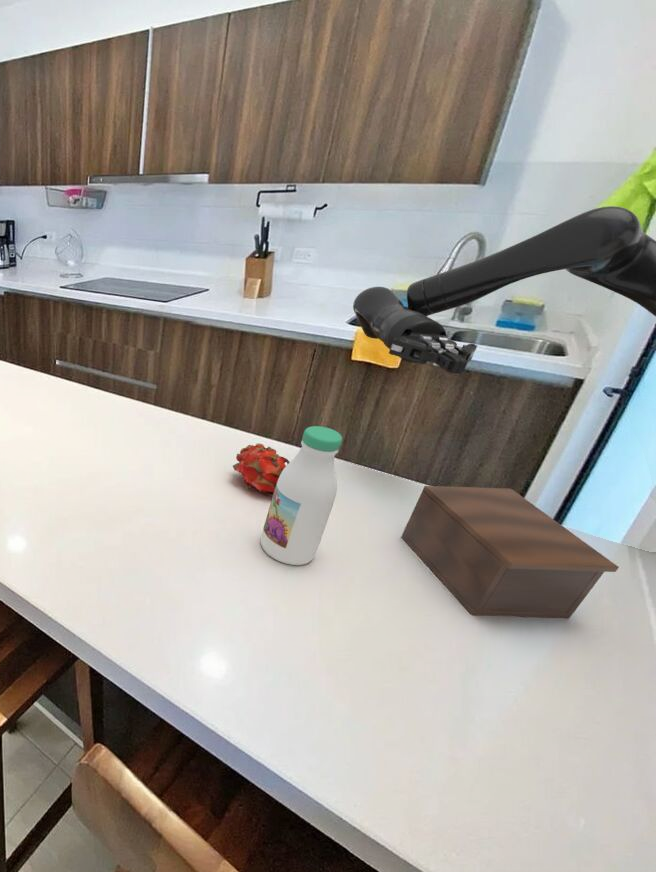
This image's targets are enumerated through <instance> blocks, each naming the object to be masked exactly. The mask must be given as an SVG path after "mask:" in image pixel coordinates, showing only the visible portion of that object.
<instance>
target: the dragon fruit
mask: <svg viewBox="0 0 656 872" xmlns="http://www.w3.org/2000/svg"><path fill="white" fill-rule="evenodd" d="M240 449H241V450H240V451H239V453H237V454H236V457H235V459H236V461H237V462H236V463H234V464H233V465H232V468H233V470H234V471H236V472H238V473H239V474H241V476H242V478H243V483H244V487H245V488H246V489H249V488H251V487H252V486H253V487H254V488H255V489H256V490H258V491H259V492H260V493H262V494H263V495H265V496H269V497H273V494H274V490H275V487H276V484H277V482H278V479H279V477H280V474H281V473H282V471H283V469H284V468H285V467H286V466H287V465H288V464H289V463H290V462H291V461H290V460H289V459H288V458H287V457H284V456H280V455H279V454H278V453H277V450H276V449H275V448H272V447H271V446H267V447H265V445H264V444H262V443H256V444H255V445H252V444H248V445H247V446H246V447H243V448H240Z"/></svg>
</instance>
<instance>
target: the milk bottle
mask: <svg viewBox="0 0 656 872" xmlns="http://www.w3.org/2000/svg"><path fill="white" fill-rule="evenodd" d="M301 439H302V440H301V442H300V445H301V448H300V450H299V451H298V452H297V454H296V455H295V456H294V458H293V459H291V460H290V461H289V462H290V463H289V464H288V465H287V464H286V467H285V468H284V469H283V471H282V473H281V474H280V477H279V479H278V482H277V484H276V487H275V490H274V491H273V493H274V494H273V496H271V501H270V503H269V507H268V511H267V514H266V518H265V521H264V525H263V528H262V532H261V534H260V535H261V536H260V544H261V545H260V546H261V547H262V549H263V551H264V552H265V553H266V554H267V555H268V556H269V557H271V558H273V559H274V560H276V561H278V562H280V563H282V564H287V565H292V566H303V565H306V564H308V563H310V562H312V561H313V560H314V559H315V556H316V554H317V551H318V548H319V546H320V543H321V540H322V537H323V534H324V532H325V529H326V527H327V524H328V520H329V518H330V515H331V512H332V509H333V506H334V503H335V500H336V496H337V492H338V491H337V490H338V479H337V473H336V468H335V457H336V455H337V454H338V453H339V452H340V451H339V449H340V448H341V445H342V442H343V435H341V434H340V433H339V432H338V431H336V430H335V429H332V428H329V427H326V426H321V425H320V426H319V425H318V426H317V425H312V426H308V427H306V428H305V429H304V431H303V435H302V437H301Z"/></svg>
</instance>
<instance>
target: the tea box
mask: <svg viewBox="0 0 656 872" xmlns="http://www.w3.org/2000/svg"><path fill="white" fill-rule="evenodd" d="M418 497H419V498H418V500H417V501H416V504H415V506H414V508H413V510H412V513H411V515H410V517H409V519H408V521H407V523H406V525H405V527H404V530H403V532H402V534H401V537H400V538H402V539H403V541H404V542H405V543H406V544H407V545H408V547H410V549H411V550H412V551H414V553H415V554H416V555H417V556H418V557H419V558H420V560H421V561H422V562H423V563H424V564H425V565H426V566H427V567H428V569H430V571H431V572H432V573H433V574H434V575H435V576H436V577H437V578H438V579H439V581H440V582H441V583H442V584H443V585H444V586H445V587H446V588H447V590H449V592H450V593H451V594H452V595H453V596H454V597H455V598H456V600H458V601H459V603H460V604H461V605H462V606H463V607H464V608H465V610H467V612H468V613H469V614H470V615H472V616H496V617H497V616H499V617H523V618H524V617H525V618H526V617H528V618H529V617H530V618H555V619H556V618H558V619H570V618H571V617H572V615H573V614H574V613H575V612H576V610H578V608H579V607H580V605H581V604H582V603H583V601H584V600H585V598H586V597H587V596H588V594H589V593H590V592H591V590H592V589H593V588H594V586H595V585H596V584H597V583H598V581H599V580H600V579H601V577H602V576H603V575H604V573H605V572H600V571H570V570H540V569H510V568H508V567H507V566H505V565H504V564H503V563H502V562H501V561H500V560H499V559H498V558H497V557H496V556H495V555H493V554H492V553H491V552H490V551H489V550H488V549H487V548H486V547H485V546H484V545H482V544H481V543H480V542H479V541H478V540H477V539H476V538H475V537H474V536H473V535H472V534H470V533H469V532H468V531H467V530H466V529H465V528H464V527H463V526H462V525H461V524H459V523H458V522H457V521H456V520H455V519H454V518H453V517H452V516H451V515H450V514H449V513H447V512H446V511H445V510H444V509H443V508H442V507H441V506H440V505H439V504H438V503H436V502H435V501H434V500H433V499H432V498H431V497H430V496H429V495H428V494H427V493H425V492H424V491H423V490H422V491H421V493H420V495H419V496H418Z"/></svg>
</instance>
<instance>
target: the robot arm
mask: <svg viewBox="0 0 656 872" xmlns="http://www.w3.org/2000/svg"><path fill="white" fill-rule="evenodd" d="M562 270H565V271H566V272H568V273H569V274H570V275H573V276H575V277H578V278H579V279H582V280H585V281H587V282H589V283H590V282H591V283H592V284H595V285H598V286H599V287H603V288H604V289H607V290H610V291H612V292H614V293H616V294H618V295H620V296H622V297H625V298H627V299H629V300H631V301H632V302H634V303H636V304H637V305H638V306H640V307H642V308H643V309H645V310H646V311H648V312H649V313H650V314H651V315H652V316H654V317H656V240H655V239H654V238H653V237H651V236H649V235H648V234H647V233H646V232H644V231H643V228H642V224H641V222H640V219H639V218H638V216H637V215H636V214H635V212H633V211H631V210H630V209H628V208H625V207H621V206H613V205H610V206H609V205H608V206H601V207H597V208H593V209H589V210H587V211H584V212H581V213H580V214H577V215H576V216H573V217H571V218H569V219H567V220H564V221H563V222H560V223H558V224H556V225H554V226H552V227H550V228H548V229H546V230H543V231H541V232H540V233H537V234H536V235H534V236H532V237H529V238H526V239H525V240H523V241H521V242H518V243H516V244H514V245H511V246H508V247H506V248H504V249H502V250H500V251H497V252H495V253H492V254H490V255H488V256H485V257H483V258H480V259H478V260H475V261H472V262H469V263H467V264H463V265H461V266H458V267H455V268H453V269H450V270H447V271H443V272H440V273H437V274H435V275H432V276H429V277H426V278H423V279H420V280H418V281H414V282H413V283H411V284H410V285H409V286H408V287H407V289H406V304H407V305H406V306H405V304H404V303H403V302H402V300H401V299H400V298H399V297H398V296H397V295H396V294H395V293H394V291H392V290H391V289H390V288H388V287H385V286H373V287H368V288H366V289H364V290H363V291H361V292H360V293H359V294H357V296H356V297H355V299H354V301H353V303H352V309H353V312H354V314H355V316H356V319H357V321H358V324H359V325H360V328H361V329H362V331H363V334H364V335H365V336H366V337H367V338H370V339H378V340H379V341H381V342H382V343H383V345H384V346H385V347H386V348H387V349H388V350H389V351H388V354H389V355H391V356H395V357H398V358H400V359H401V360H402V361H405V362H408V363H415V364H416V363H417V364H421V365H425V364H430V365H432V366H434V367H440V368H441V369H443V370H444V371H445V372H447V373H449V374H459V375H460V374H462V373H463V372H465V369H466V367H467V365H468V364H469V363H470V362H471V361H472V359H473V357H474V354H475V352H476V350H477V349H478V345H477V344H475V343H467V344H463V345H462V346H460V345H458V344H457V342H456V341H454V340H451V339H449V338H448V336H447V332H446V329H445V327H444V326H443V325H442V324H441V323H440V322H438V321H436V320H434V319H433V318H431V317H429V316H432V315H434V314H438V313H441V312H445V311H448V310H452V309H456V308H458V307H461V306H464V305H467V304H469V303H472V302H475V301H477V300H479V299H481V298H484V297H486V296H488V295H490V294H492V293H494V292H497V291H498V290H500V289H502V288H504V287H507V286H509V285H511V284H514V283H516V282H520V281H523V280H525V279H528V278H531V277H535V276H539V275H542V274H548V273H552V272H556V271H562Z"/></svg>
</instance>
